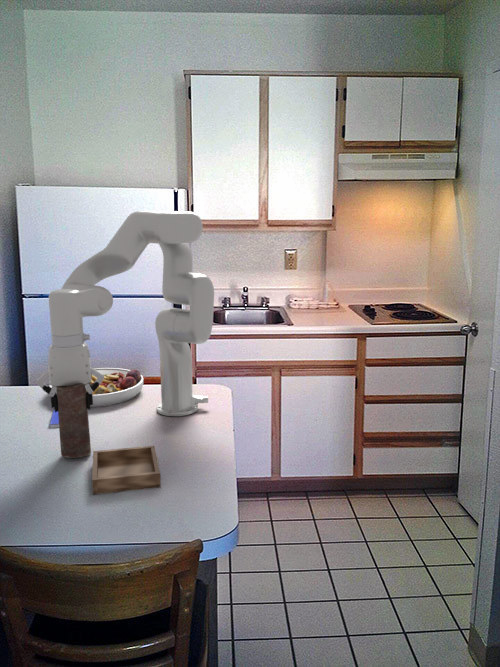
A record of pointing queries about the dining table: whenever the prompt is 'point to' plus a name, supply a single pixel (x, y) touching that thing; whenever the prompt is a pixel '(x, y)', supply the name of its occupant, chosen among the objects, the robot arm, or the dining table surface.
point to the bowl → (116, 386)
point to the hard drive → (54, 420)
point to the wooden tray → (125, 470)
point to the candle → (73, 421)
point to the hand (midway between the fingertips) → (72, 408)
